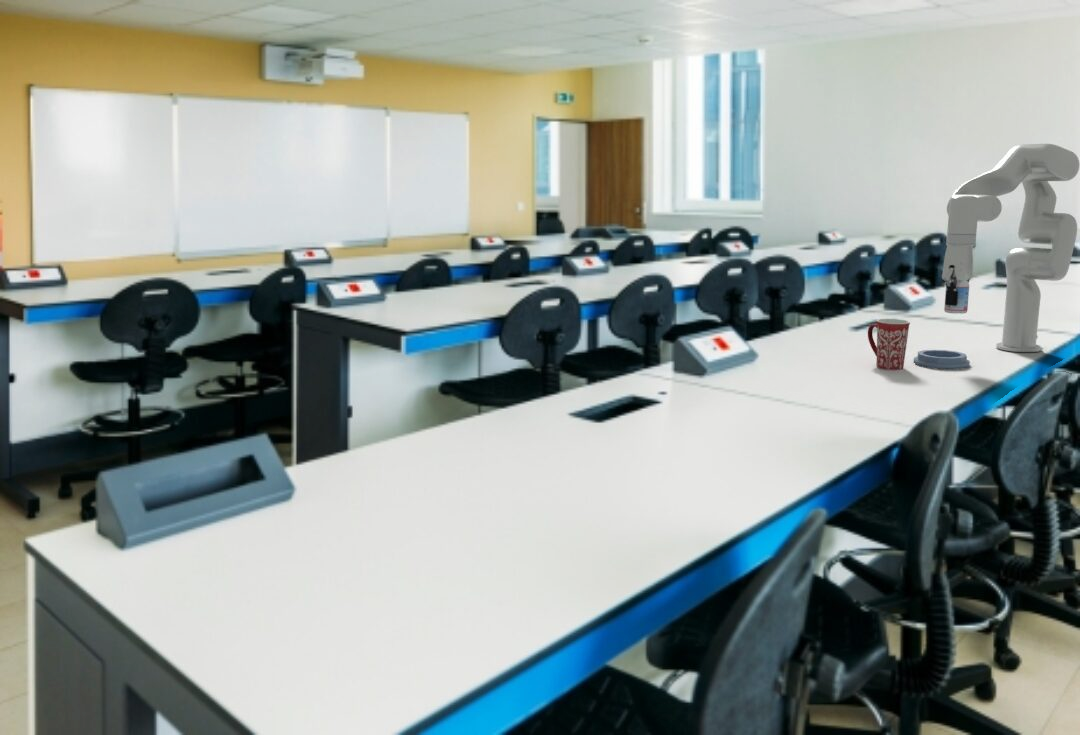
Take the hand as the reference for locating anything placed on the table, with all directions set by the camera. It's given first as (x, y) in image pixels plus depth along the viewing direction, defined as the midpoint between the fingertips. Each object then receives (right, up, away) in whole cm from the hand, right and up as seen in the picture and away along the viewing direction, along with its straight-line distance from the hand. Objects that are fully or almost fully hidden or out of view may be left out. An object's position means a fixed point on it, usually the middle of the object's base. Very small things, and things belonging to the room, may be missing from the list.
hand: (955, 303), depth 269 cm
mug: (-19, -18, +2) cm, 27 cm away
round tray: (-2, -17, +5) cm, 18 cm away
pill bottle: (0, -3, +1) cm, 3 cm away
